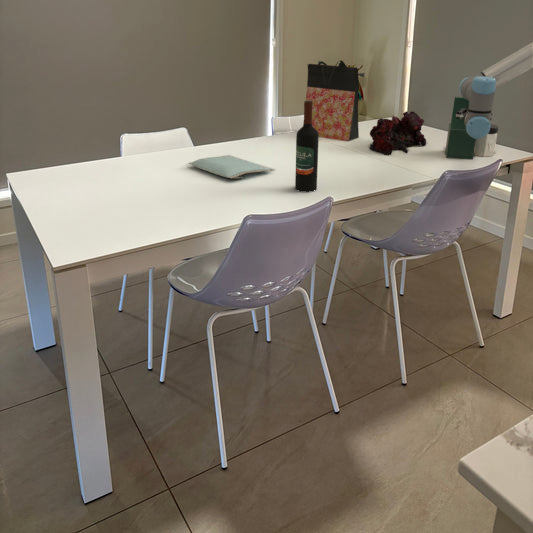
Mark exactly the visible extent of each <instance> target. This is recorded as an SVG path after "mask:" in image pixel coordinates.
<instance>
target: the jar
mask: <svg viewBox="0 0 533 533" xmlns="http://www.w3.org/2000/svg"><path fill="white" fill-rule="evenodd" d="M490 124H491V123H490ZM498 132H499V125H496V124H491V126H490V131H489V133H488V134H487V135H486V136H485V137H483V138H480V139H476V142H475V148H474V155H473V156H479V157H482V158H483V157H494V156H495V150H496V143H497V138H498Z"/></svg>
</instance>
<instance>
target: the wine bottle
mask: <svg viewBox="0 0 533 533" xmlns="http://www.w3.org/2000/svg"><path fill="white" fill-rule="evenodd" d="M312 107H313V101H306V100H304V101H303V122H304V125H303V124H302V127H299V129H298V130H297V131H296V136H295V178H294V180H295V182H294V185H295V186H294V190H296V191H297V190H299V191H298V192H301V191H306V192H305V193H310V192H309V191H312V192H315V191H317V189H318V166H319V163H318V162H319V139H320V137H319V134H318V132H317V130H316V129H315V128H314V127H313V126H312ZM314 190H315V191H314Z"/></svg>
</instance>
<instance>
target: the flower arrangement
mask: <svg viewBox="0 0 533 533" xmlns="http://www.w3.org/2000/svg"><path fill="white" fill-rule="evenodd" d="M402 115H403V116H402V117H401V119H400V118H399V117H398V116H395V115H393V116H391V119H389V118H382V117H380V118H379V119H377V120H376V121H377V122H376V125H373V126H372V128H371V130H370V131H369V136H370V138H372V143H370V145H369V147H368V148H369V151H371V152H375V153H378V154H383V155H384V156H391V155H392V153H393V152H394V151H395V152H396V151H403V152H404V153H406V154H408V148H412V147H419V146H422V147H426V145H427V138H425V135H424V134H423V132H421V131H422V126H423V125H424V123H425V119H423V118H421V117H420V116H419V115H418V114H417V113H416V112H415V111H410V112H408V111H406V110H405V111H404V112H403V113H402Z"/></svg>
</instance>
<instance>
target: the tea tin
mask: <svg viewBox="0 0 533 533" xmlns="http://www.w3.org/2000/svg"><path fill="white" fill-rule="evenodd" d="M450 126H451V122H449V123H448V128H447V136H446V144H445V158H446V159H460V160H461V159H462V160H474V156H475V155H474V148H475V142H476V139H475V138H472V137H471V136H470V135H469V134H468V133H467V131H466V129H450Z"/></svg>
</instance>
